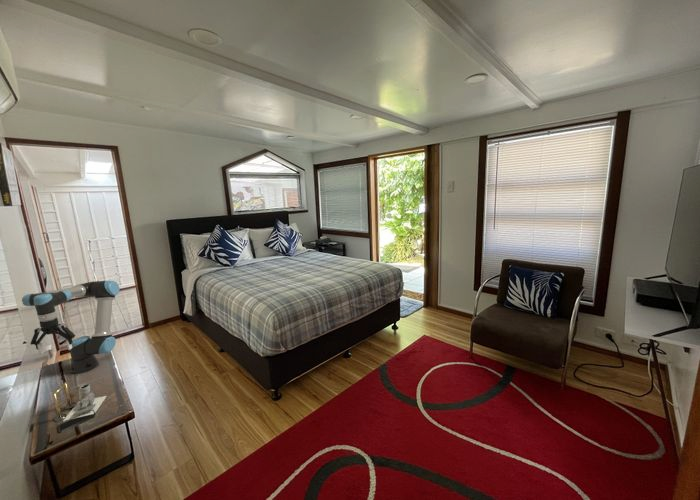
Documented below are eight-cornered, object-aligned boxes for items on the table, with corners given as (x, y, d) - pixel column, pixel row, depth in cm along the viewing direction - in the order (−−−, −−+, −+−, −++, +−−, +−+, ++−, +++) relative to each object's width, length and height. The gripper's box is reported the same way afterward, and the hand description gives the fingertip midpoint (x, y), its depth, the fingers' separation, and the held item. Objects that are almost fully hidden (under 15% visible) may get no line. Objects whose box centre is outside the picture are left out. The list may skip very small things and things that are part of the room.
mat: (78, 402, 173) (78, 401, 173) (106, 396, 178) (106, 395, 178) (63, 421, 158) (62, 420, 158) (93, 414, 163) (93, 413, 163)
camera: (95, 380, 174) (89, 394, 162) (99, 396, 177) (93, 412, 164) (76, 385, 170) (68, 401, 157) (80, 402, 172) (73, 418, 160)
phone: (95, 415, 162) (59, 432, 150) (96, 417, 162) (59, 434, 151) (93, 409, 167) (57, 425, 155) (93, 410, 167) (58, 426, 156)
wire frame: (68, 404, 172) (62, 381, 169) (78, 402, 174) (72, 379, 170) (52, 422, 158) (45, 397, 155) (63, 420, 160) (57, 395, 156)
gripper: (15, 325, 161) (25, 358, 165) (70, 318, 169) (78, 350, 174) (25, 320, 168) (34, 352, 172) (77, 313, 176) (84, 344, 180)
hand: (56, 351), depth 173 cm, fingers open, 13 cm apart
